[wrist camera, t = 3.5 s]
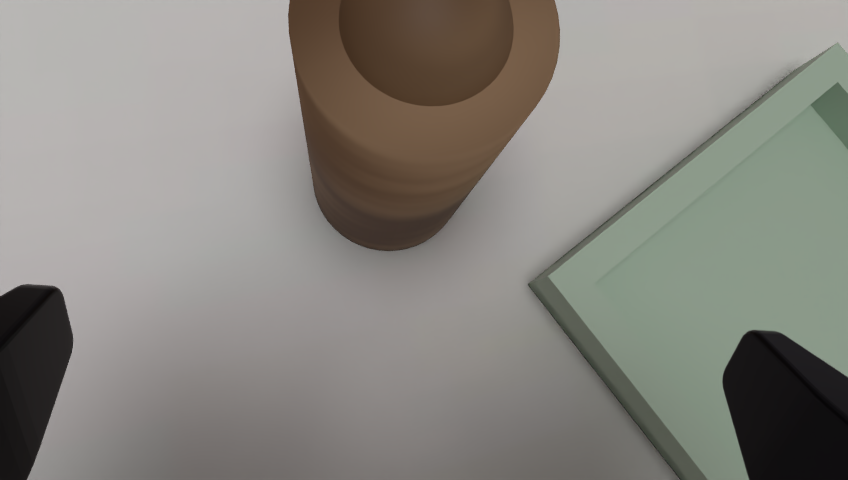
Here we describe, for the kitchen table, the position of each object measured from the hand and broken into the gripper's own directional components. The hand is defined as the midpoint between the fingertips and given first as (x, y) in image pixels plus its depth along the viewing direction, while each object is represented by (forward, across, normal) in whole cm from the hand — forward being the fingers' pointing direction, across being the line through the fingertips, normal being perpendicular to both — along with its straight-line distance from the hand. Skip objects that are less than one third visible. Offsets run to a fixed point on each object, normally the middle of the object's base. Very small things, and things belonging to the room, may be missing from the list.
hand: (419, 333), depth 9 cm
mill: (+12, 0, +5) cm, 13 cm away
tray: (+10, -14, +7) cm, 18 cm away
